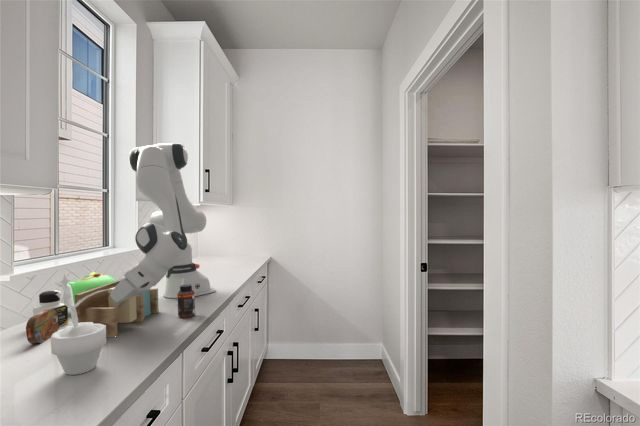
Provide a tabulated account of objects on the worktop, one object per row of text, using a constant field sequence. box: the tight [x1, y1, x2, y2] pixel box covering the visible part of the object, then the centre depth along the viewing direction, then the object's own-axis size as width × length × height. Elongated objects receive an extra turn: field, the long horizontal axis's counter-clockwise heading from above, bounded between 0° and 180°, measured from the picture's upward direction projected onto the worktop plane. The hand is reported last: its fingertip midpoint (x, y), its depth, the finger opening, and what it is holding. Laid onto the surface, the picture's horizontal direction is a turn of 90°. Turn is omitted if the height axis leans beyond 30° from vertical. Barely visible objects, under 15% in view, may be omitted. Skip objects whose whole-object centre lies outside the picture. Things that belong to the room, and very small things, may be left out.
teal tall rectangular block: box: [138, 288, 152, 318], centre depth 135 cm, size 6×7×13 cm
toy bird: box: [58, 271, 117, 305], centre depth 147 cm, size 18×17×15 cm
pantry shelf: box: [75, 278, 159, 338], centre depth 126 cm, size 10×30×14 cm, turn 177°
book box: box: [108, 287, 137, 324], centre depth 122 cm, size 7×4×11 cm, turn 87°
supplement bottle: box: [177, 284, 196, 319], centre depth 135 cm, size 6×6×11 cm
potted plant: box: [50, 273, 109, 376], centre depth 91 cm, size 13×12×25 cm
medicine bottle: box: [32, 289, 69, 327], centre depth 127 cm, size 7×7×12 cm
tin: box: [25, 308, 60, 345], centre depth 114 cm, size 15×3×8 cm, turn 12°
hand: (120, 303), depth 122 cm, fingers closed on book box, 4 cm apart
